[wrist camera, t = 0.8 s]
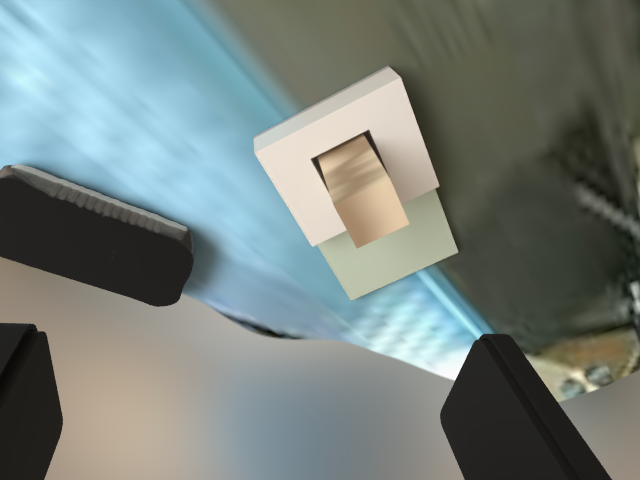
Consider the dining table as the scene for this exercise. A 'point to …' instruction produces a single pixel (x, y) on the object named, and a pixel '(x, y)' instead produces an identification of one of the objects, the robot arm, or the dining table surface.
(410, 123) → the socket block
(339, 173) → the plug
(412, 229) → the mat
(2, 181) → the black sponge
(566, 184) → the dining table surface
